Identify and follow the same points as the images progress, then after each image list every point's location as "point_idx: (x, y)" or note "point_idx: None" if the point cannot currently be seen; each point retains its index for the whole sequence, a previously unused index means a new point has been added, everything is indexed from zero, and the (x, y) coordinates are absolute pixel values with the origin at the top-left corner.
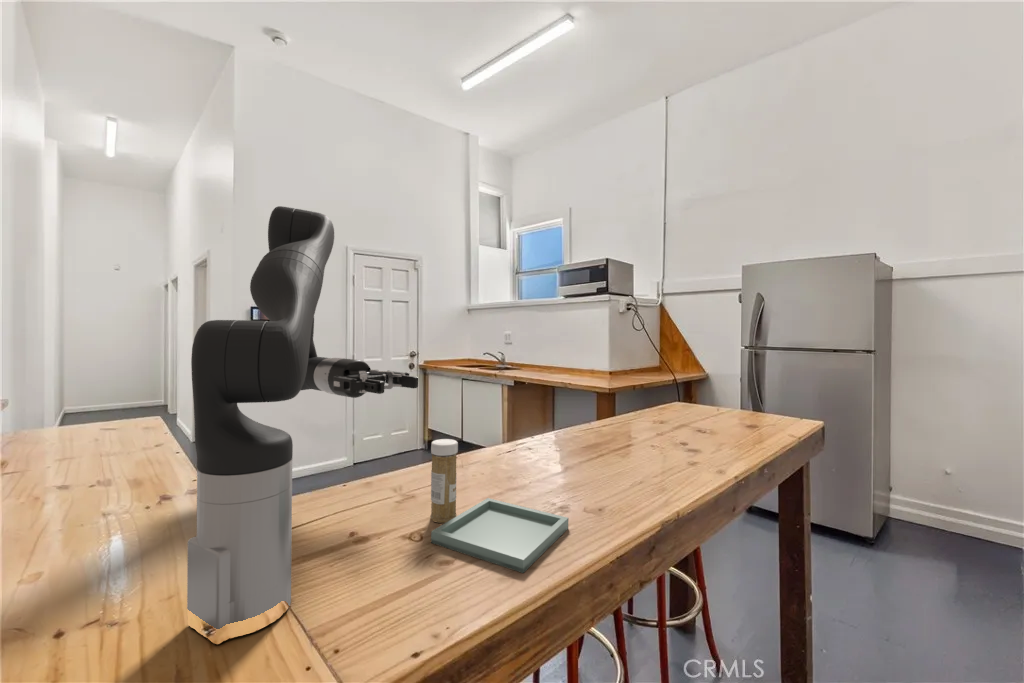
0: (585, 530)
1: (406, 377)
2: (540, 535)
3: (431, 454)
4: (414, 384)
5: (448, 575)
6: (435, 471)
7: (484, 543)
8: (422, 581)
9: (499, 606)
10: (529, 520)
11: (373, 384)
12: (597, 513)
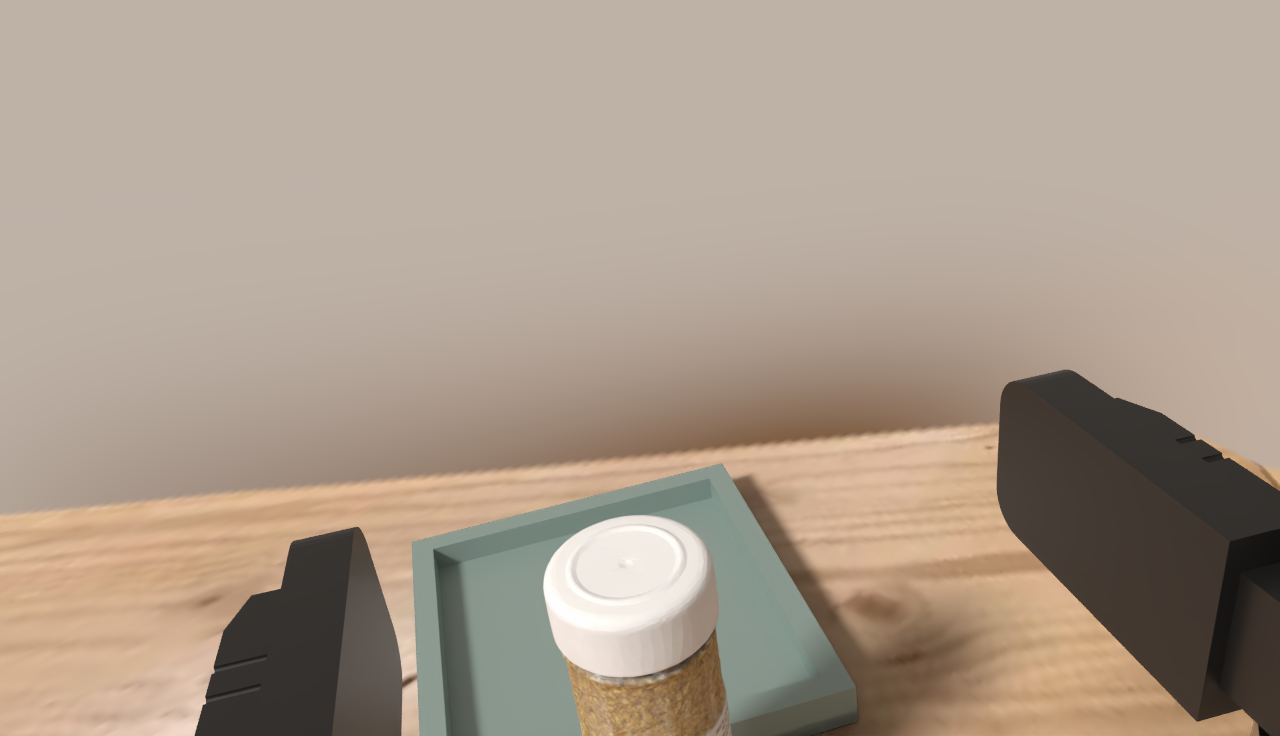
0: (401, 544)
1: (345, 682)
2: (542, 557)
3: (704, 652)
4: (387, 622)
5: (900, 559)
6: (721, 673)
7: None
8: (982, 570)
9: (856, 448)
10: (465, 636)
11: (1167, 430)
12: (248, 589)
